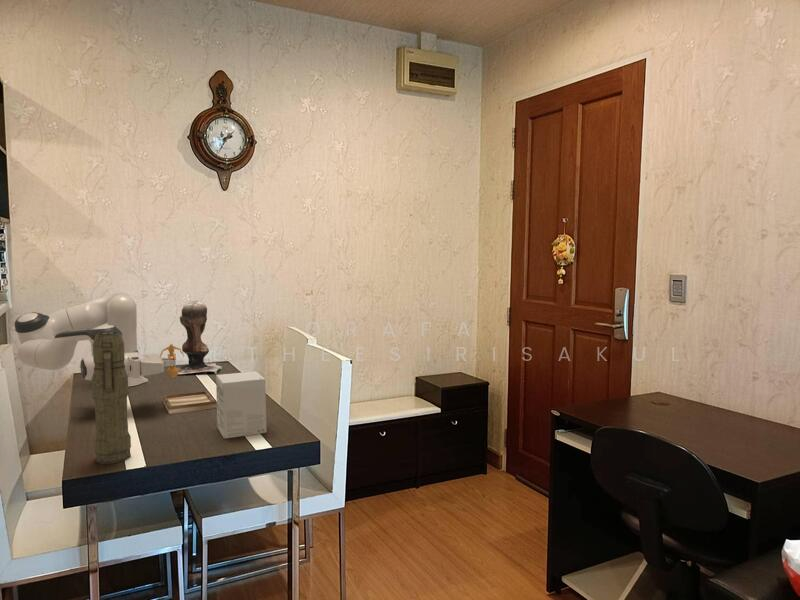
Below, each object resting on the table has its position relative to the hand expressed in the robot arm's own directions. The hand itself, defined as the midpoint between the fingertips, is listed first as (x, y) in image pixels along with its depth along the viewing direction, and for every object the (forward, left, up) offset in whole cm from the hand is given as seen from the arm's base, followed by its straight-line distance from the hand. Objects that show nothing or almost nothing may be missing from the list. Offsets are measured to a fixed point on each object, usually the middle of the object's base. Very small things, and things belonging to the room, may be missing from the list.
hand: (174, 361), depth 207 cm
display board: (0, +4, -17) cm, 17 cm away
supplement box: (+39, +14, -17) cm, 45 cm away
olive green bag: (+47, -23, -17) cm, 55 cm away
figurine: (-1, -1, -6) cm, 6 cm away
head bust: (-64, +18, -17) cm, 69 cm away
